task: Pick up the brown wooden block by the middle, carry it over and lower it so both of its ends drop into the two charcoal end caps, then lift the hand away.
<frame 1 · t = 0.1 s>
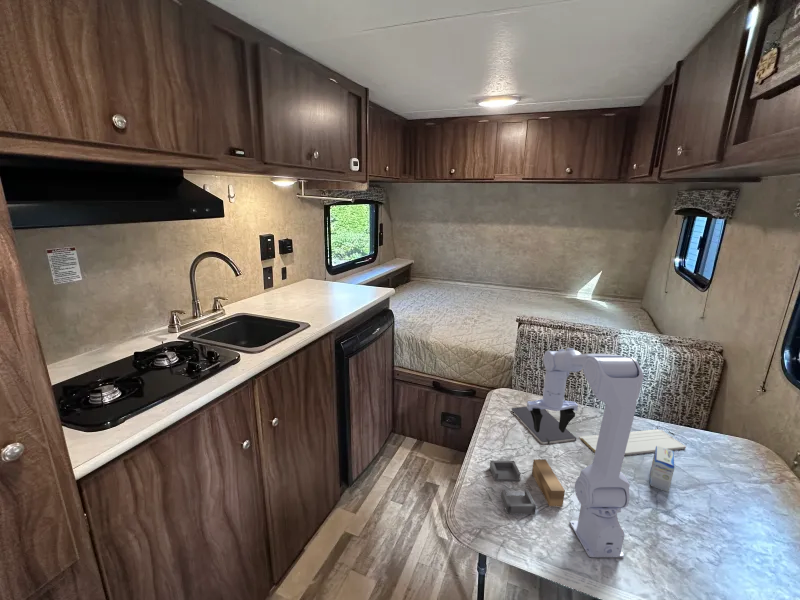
hand: (548, 430, 109), 10 cm above the table, tool pointing down, fingers open, 7 cm apart
end caps: (510, 488, 100), on the table
medicine box: (659, 481, 104), on the table
baseboard molding: (629, 443, 121), on the table
brown wooden block: (546, 489, 100), on the table
notebook: (540, 426, 130), on the table
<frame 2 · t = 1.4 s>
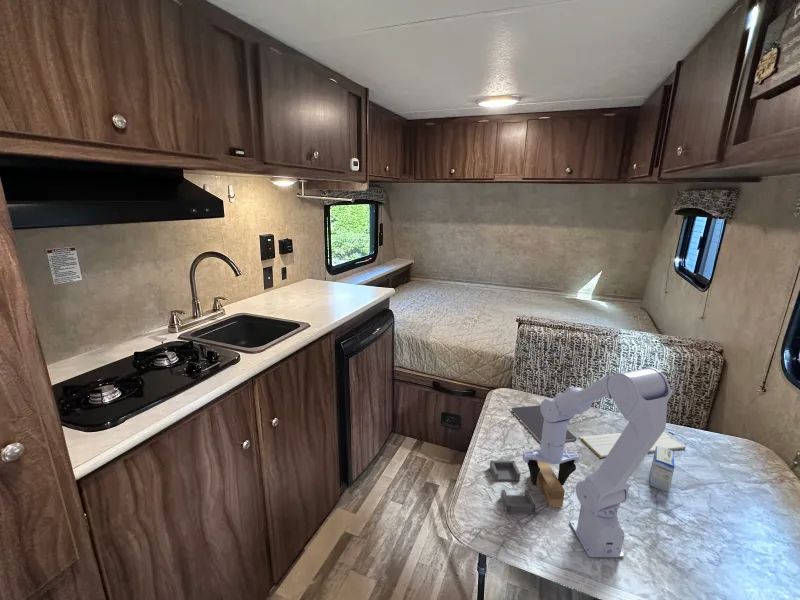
hand: (547, 482, 99), 2 cm above the table, tool pointing down, fingers open, 7 cm apart
nothing on the table moved.
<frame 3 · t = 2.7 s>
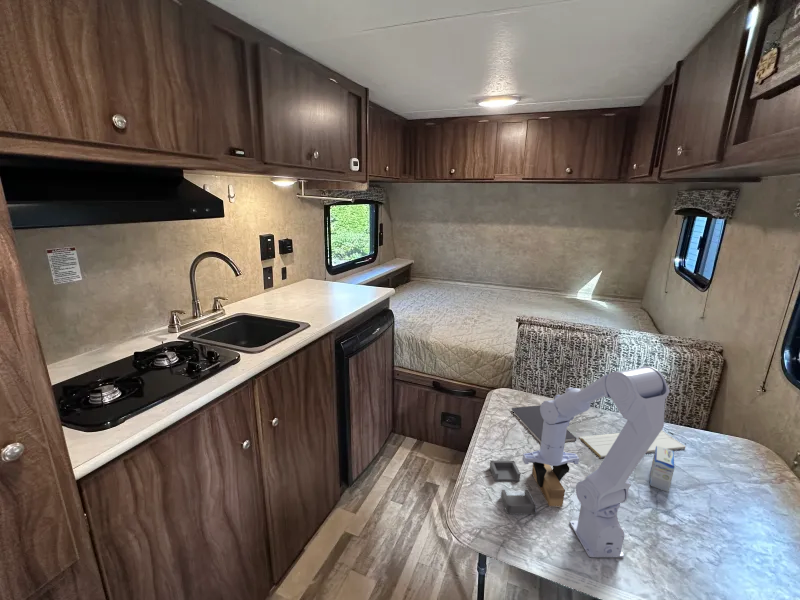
hand: (546, 484, 99), 1 cm above the table, tool pointing down, fingers closed on brown wooden block, 3 cm apart
brown wooden block: (546, 489, 100), on the table, touching gripper
everything else where it was.
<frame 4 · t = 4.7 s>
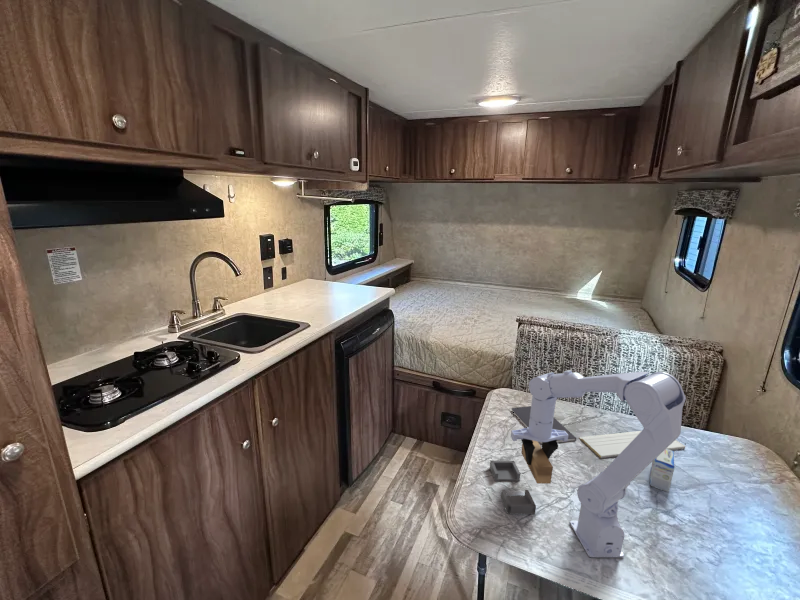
hand: (535, 462, 98), 8 cm above the table, tool pointing down, fingers closed on brown wooden block, 3 cm apart
brown wooden block: (535, 467, 98), point 7 cm above the table, touching gripper
everything else where it was.
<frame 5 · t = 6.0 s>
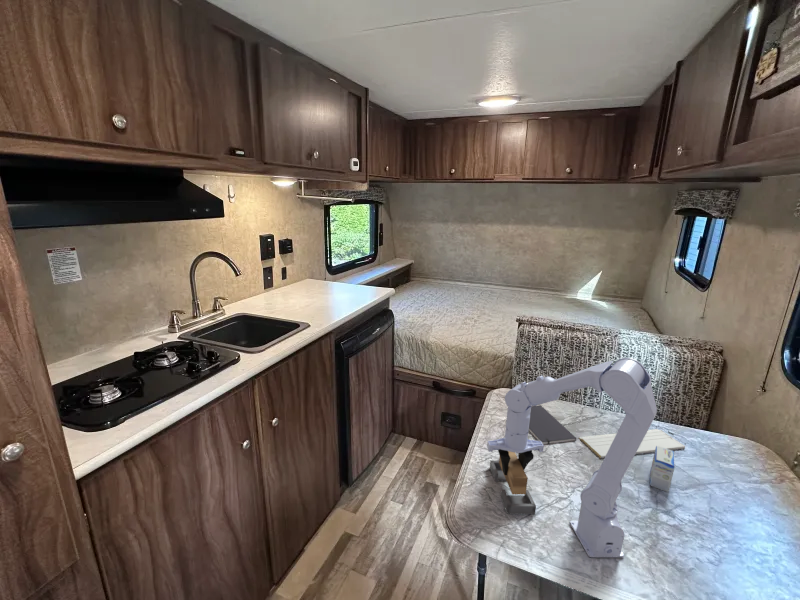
hand: (512, 472, 98), 5 cm above the table, tool pointing down, fingers closed on brown wooden block, 3 cm apart
brown wooden block: (511, 477, 99), point 4 cm above the table, touching gripper
everything else where it was.
when the fingers open (3 cm above the table, at t = 7.2 s): brown wooden block drops 1 cm, resting on end caps.
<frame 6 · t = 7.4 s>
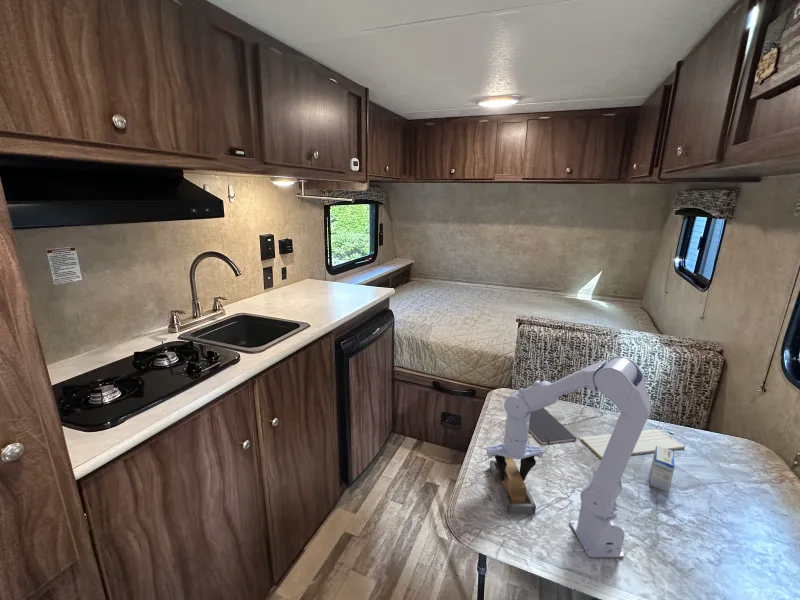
hand: (511, 478, 99), 3 cm above the table, tool pointing down, fingers open, 5 cm apart
brown wooden block: (510, 486, 99), point 1 cm above the table, touching end caps
everything else where it was.
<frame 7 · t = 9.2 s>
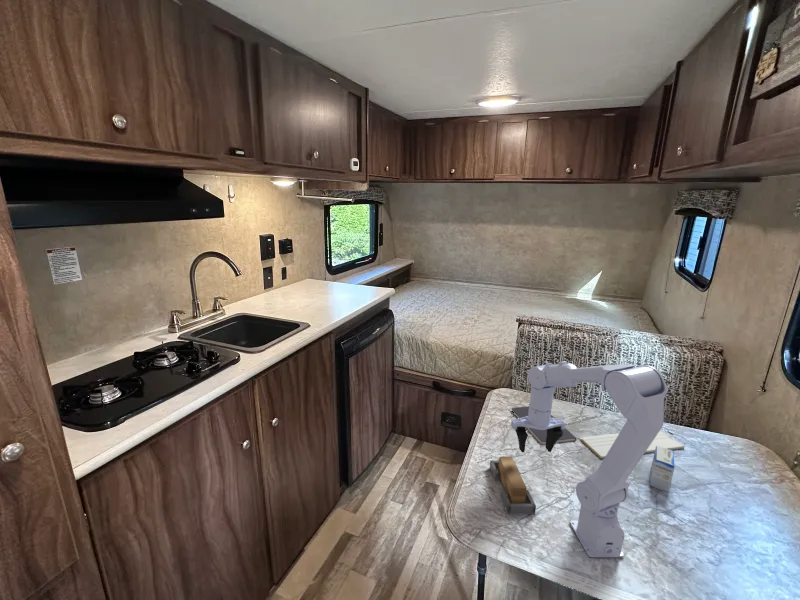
hand: (535, 449, 102), 9 cm above the table, tool pointing down, fingers open, 7 cm apart
nothing on the table moved.
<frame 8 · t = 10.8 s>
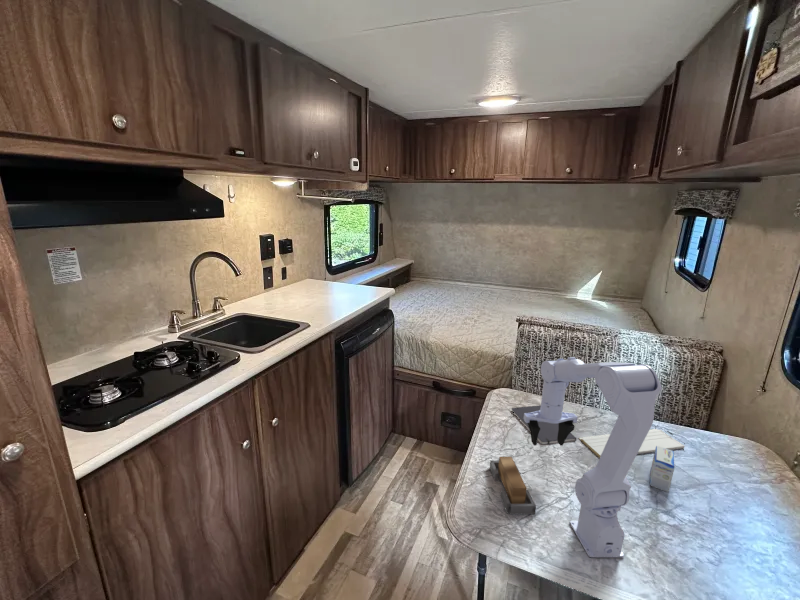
hand: (546, 443, 104), 9 cm above the table, tool pointing down, fingers open, 7 cm apart
nothing on the table moved.
at the end: brown wooden block 0.1 cm off-centre on the end caps, point 0.6 cm above the end caps's base; brown wooden block tilted 0°; the gripper is holding nothing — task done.
